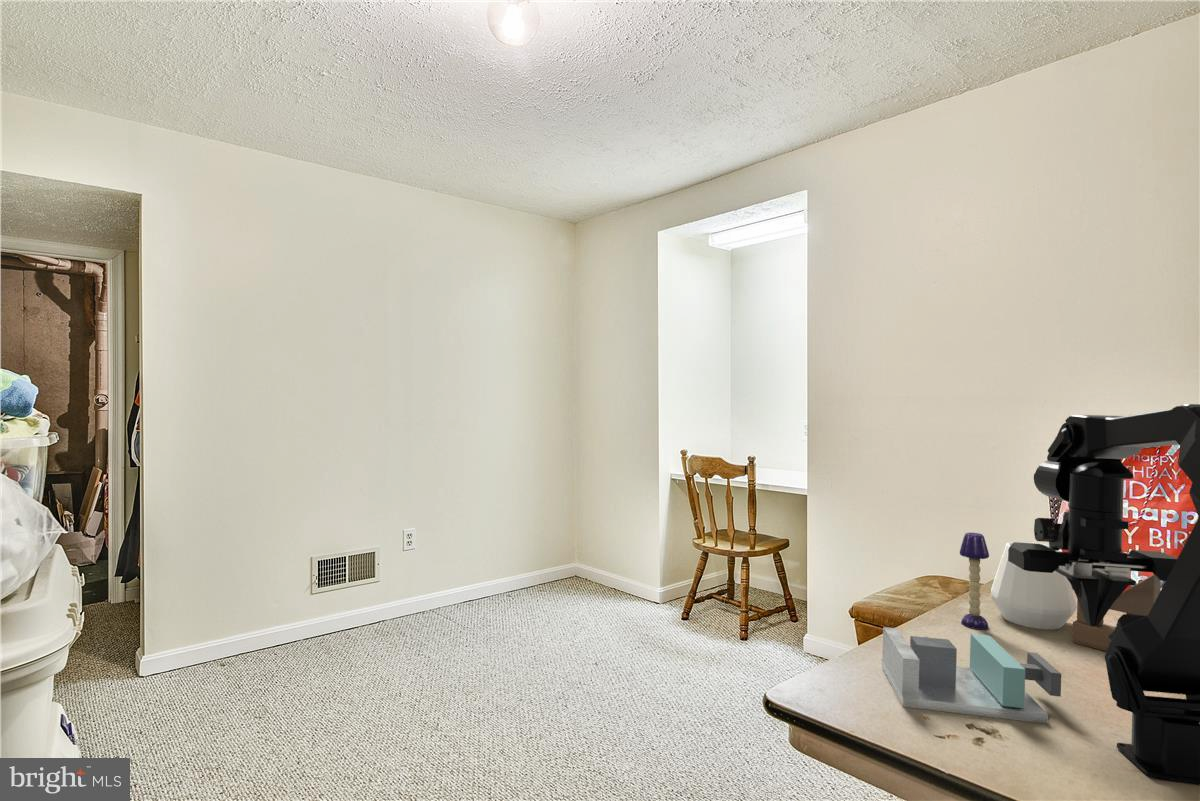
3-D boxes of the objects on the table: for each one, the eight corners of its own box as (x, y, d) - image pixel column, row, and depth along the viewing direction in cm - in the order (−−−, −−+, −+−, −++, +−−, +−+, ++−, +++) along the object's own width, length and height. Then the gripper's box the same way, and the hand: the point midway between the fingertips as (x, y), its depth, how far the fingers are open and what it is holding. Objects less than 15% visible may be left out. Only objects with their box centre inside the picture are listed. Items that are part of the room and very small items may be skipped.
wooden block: (1152, 665, 101) (1155, 550, 101) (1071, 642, 109) (1074, 537, 109) (1159, 660, 103) (1162, 547, 103) (1079, 638, 112) (1082, 535, 111)
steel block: (955, 689, 88) (956, 648, 88) (916, 684, 89) (917, 645, 89) (947, 678, 91) (948, 639, 91) (909, 674, 92) (910, 635, 92)
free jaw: (1070, 713, 81) (1071, 673, 81) (1002, 705, 83) (1003, 667, 83) (1028, 673, 93) (1029, 639, 93) (969, 667, 94) (970, 633, 94)
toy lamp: (978, 631, 114) (981, 537, 114) (952, 623, 118) (954, 532, 118) (992, 626, 116) (995, 535, 116) (966, 619, 120) (969, 530, 120)
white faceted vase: (982, 620, 120) (984, 545, 120) (997, 604, 130) (999, 535, 130) (1071, 639, 111) (1073, 559, 111) (1080, 621, 121) (1082, 547, 121)
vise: (1047, 723, 81) (1049, 674, 81) (902, 706, 85) (904, 659, 85) (1005, 679, 94) (1007, 637, 94) (881, 666, 97) (882, 625, 97)
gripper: (1139, 503, 92) (1136, 613, 92) (994, 496, 95) (991, 601, 96) (1193, 517, 81) (1189, 641, 81) (1027, 508, 85) (1023, 626, 85)
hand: (1091, 625), depth 86 cm, fingers closed
